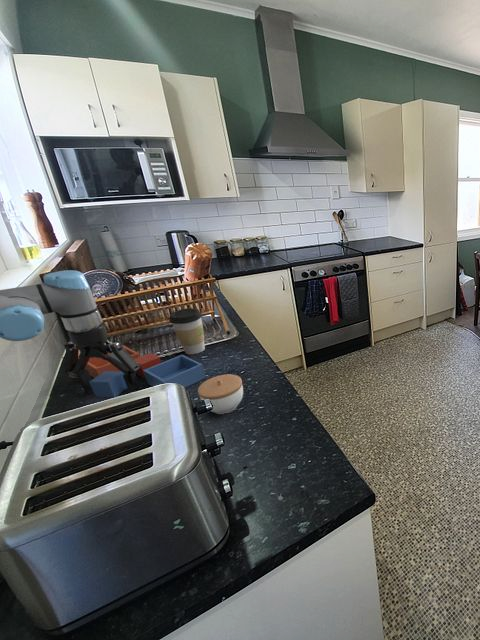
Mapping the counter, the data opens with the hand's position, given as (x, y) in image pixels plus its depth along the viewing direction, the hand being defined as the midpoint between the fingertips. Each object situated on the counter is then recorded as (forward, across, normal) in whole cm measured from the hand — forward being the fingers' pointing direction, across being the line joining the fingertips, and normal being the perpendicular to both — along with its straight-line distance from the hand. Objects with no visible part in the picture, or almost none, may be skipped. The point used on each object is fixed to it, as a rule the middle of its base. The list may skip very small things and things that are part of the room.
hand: (112, 391), depth 104 cm
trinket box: (0, -37, +6) cm, 37 cm away
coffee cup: (0, -9, -26) cm, 27 cm away
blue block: (0, 0, 0) cm, 0 cm away
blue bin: (0, -15, -6) cm, 16 cm away
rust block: (0, -4, -10) cm, 11 cm away
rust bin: (0, +9, -12) cm, 15 cm away
